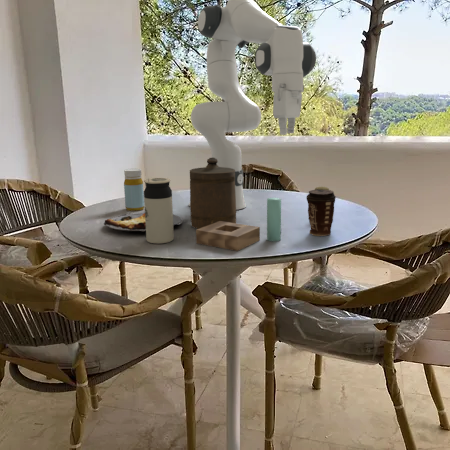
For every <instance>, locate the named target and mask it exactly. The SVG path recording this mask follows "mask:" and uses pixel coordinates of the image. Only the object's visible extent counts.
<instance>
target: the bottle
mask: <svg viewBox="0 0 450 450" xmlns="http://www.w3.org/2000/svg"><path fill="white" fill-rule="evenodd" d="M123 188H124V189H123V190H124V191H123V192H124V202H125V203H124V204H125V209H126V210H127V211H128V212H138V211H139V212H140V211H143V210H145V204H144V180H143V178H142V169H141V168H128V169H124V182H123Z"/></svg>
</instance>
